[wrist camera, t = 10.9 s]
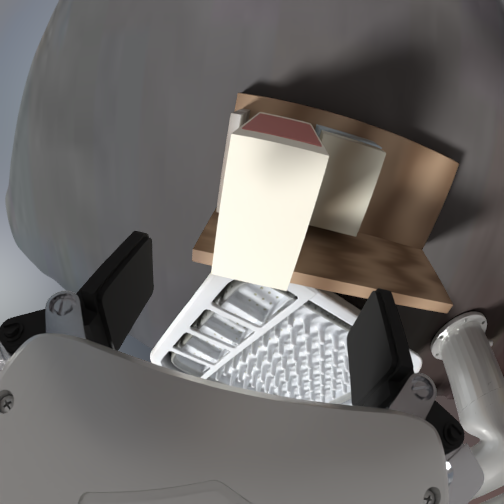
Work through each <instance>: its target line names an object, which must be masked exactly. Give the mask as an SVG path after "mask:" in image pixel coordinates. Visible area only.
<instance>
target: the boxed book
mask: <svg viewBox="0 0 504 504" xmlns="http://www.w3.org/2000/svg"><path fill="white" fill-rule="evenodd" d="M328 159H329V154H328V153H327V151H326V149H325V147H324V145H323V144H322V142H321V140H320V138H319V137H318V135H317V133H316V131H315V130H314V128H313V126H312V125H311V123H308V122H304V121H300V120H296V119H291V118H287V117H283V116H278V115H273V114H268V113H263V112H259V113H258V114H256V115H255V116H254V117H252V118H251V119H250V120H248V121H247V122H246V123H244V124H243V125H242V126H241V127H239V128H238V129H237V130H235V131H234V132H233V133H232V134H231V139H230V145H229V151H228V157H227V163H226V169H225V176H224V182H223V189H222V196H221V203H220V210H219V217H218V224H217V232H216V239H215V247H214V255H213V263H212V271H211V274H213V275H218V276H222V277H226V278H230V279H235V280H239V281H244V282H248V283H252V284H257V285H261V286H266V287H270V288H275V289H280V290H284V291H287V289H288V286H289V283H290V280H291V277H292V274H293V271H294V268H295V265H296V262H297V259H298V256H299V253H300V250H301V247H302V244H303V241H304V238H305V235H306V232H307V229H308V225H309V222H310V219H311V216H312V213H313V209H314V206H315V203H316V200H317V196H318V193H319V190H320V186H321V183H322V180H323V176H324V173H325V169H326V166H327V162H328Z"/></svg>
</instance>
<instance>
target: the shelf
mask: <svg viewBox="0 0 504 504" xmlns="http://www.w3.org/2000/svg"><path fill="white" fill-rule="evenodd" d="M259 112H263V113H268V114H273V115H278V116H283V117H287V118H291V119H296V120H300V121H304V122H308V123H311V125H312V126H313V128H314V130H315V131H316V133H317V135H318V137H319V138H320V140H321V142H322V144H323V145H324V147H325V149H326V151H327V153H328V154H329V159H328V162H327V166H326V169H325V173H324V176H323V180H322V183H321V186H320V190H319V193H318V196H317V200H316V203H315V206H314V209H313V213H312V216H311V219H310V222H309V225H308V229H307V232H306V235H305V238H304V241H303V244H302V247H301V250H300V253H299V256H298V259H297V262H296V265H295V268H294V271H293V274H292V277H291V280H290V283H293V284H298V285H302V286H307V287H312V288H317V289H322V290H326V291H331V292H336V293H341V294H346V295H351V296H356V297H361V298H366V299H368V298H369V296H370V294H371V292H372V291H376V290H377V289H378V288H380V289H385V290H389V291H391V293H392V295H393V298H394V301H395V304H398V305H403V306H409V307H414V308H419V309H425V310H431V311H436V312H442V313H448V311H449V310H450V309H451V307H452V306H453V303H452V301H451V300H450V298H449V296H448V294H447V292H446V290H445V288H444V286H443V285H442V283H441V281H440V279H439V278H438V276H437V274H436V272H435V271H434V269H433V267H432V265H431V264H430V262H429V260H428V259H427V257H426V256H425V254H424V252H423V251H422V249H423V247H424V245H425V243H426V241H427V239H428V237H429V235H430V233H431V231H432V229H433V226H434V224H435V222H436V220H437V218H438V216H439V213H440V211H441V209H442V206H443V204H444V202H445V199H446V197H447V194H448V192H449V189H450V187H451V184H452V182H453V179H454V177H455V174H456V171H457V168H458V166H459V163H457V162H456V161H454V160H452V159H451V158H449V157H447V156H445V155H443V154H440V153H438V152H436V151H434V150H432V149H430V148H428V147H425V146H423V145H421V144H419V143H416V142H414V141H412V140H409V139H407V138H404V137H402V136H399V135H397V134H394V133H392V132H389V131H386V130H384V129H381V128H378V127H375V126H373V125H370V124H367V123H364V122H361V121H358V120H355V119H352V118H349V117H345V116H342V115H339V114H335V113H332V112H328V111H325V110H321V109H317V108H313V107H309V106H305V105H301V104H297V103H293V102H288V101H284V100H279V99H274V98H269V97H264V96H258V95H252V94H246V93H238V95H237V101H236V106H235V112H233V113H231V117H230V123H229V129H228V135H227V141H226V148H225V154H224V161H223V168H222V174H221V181H220V189H219V196H218V203H217V207H216V209H215V211H214V213H213V214H212V216H211V218H210V220H209V221H208V223H207V225H206V227H205V228H204V230H203V232H202V234H201V235H200V237H199V239H198V241H197V243H196V244H195V246H194V248H193V255H192V261H194V262H198V263H203V264H207V265H211V266H212V263H213V255H214V247H215V239H216V232H217V224H218V217H219V210H220V203H221V196H222V189H223V182H224V176H225V169H226V163H227V157H228V151H229V145H230V139H231V134H232V133H233V132H234V131H235V130H237V129H238V128H239V127H241V126H242V125H243V124H244V123H246V122H247V121H248V120H250V119H251V118H252V117H254V116H255V115H256V114H258V113H259Z"/></svg>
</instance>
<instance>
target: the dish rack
mask: <svg viewBox="0 0 504 504" xmlns="http://www.w3.org/2000/svg"><path fill="white" fill-rule="evenodd" d="M360 312H361V310H359V309H358V308H356V307H355V306H353V305H352V304H350V303H349V302H347V301H346V300H344V299H343V298H341V297H340V296H338V295H337V294H335V293H333V292H331V291H326V290H322V289H317V288H312V287H307V286H302V285H298V284H293V283H289V286H288V289H287V291H284V290H280V289H275V288H270V287H266V286H261V285H257V284H252V283H248V282H244V281H239V280H235V279H230V278H226V277H222V276H218V275H213V274H211V273H210V274H209V276H208V277H207V278H206V280H205V281H204V282H203V284H202V285H201V286H200V288H199V289H198V290H197V291H196V293H195V294H194V296H193V297H192V298H191V300H190V301H189V302H188V303H187V305H186V306H185V307H184V308H183V310H182V311H181V312H180V313H179V315H178V316H177V317H176V319H175V320H174V321H173V323H172V324H171V325H170V327H169V328H168V329H167V331H166V332H165V333H164V335H163V336H162V337H161V339H160V340H159V342H158V343H157V344H156V346H155V347H154V349H153V350H152V351H151V354H150V358H151V362H152V363H153V364H156V365H159V366H162V367H165V368H169V369H172V370H175V371H178V372H182V373H185V374H188V375H192V376H196V377H199V378H203V379H206V380H210V381H214V382H218V383H222V384H226V385H230V386H235V387H239V388H243V389H248V390H253V391H258V392H263V393H268V394H273V395H279V396H284V397H290V398H296V399H303V400H310V401H317V402H325V403H334V404H343V405H352V402H351V386H350V372H349V361H348V350H347V335H348V332H349V331H350V329H351V327H352V326H353V324H354V322H355V321H356V319H357V317H358V315H359V314H360ZM409 351H410V354H411V358H412V362H413V366H414V368H413V369H414V373H418V372H419V370H420V368H421V366H422V359H421V357H420V356H419V355H418V354H417V353H415V352H414V351H412V350H411V349H409ZM352 406H353V405H352Z"/></svg>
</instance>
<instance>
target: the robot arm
mask: <svg viewBox="0 0 504 504" xmlns="http://www.w3.org/2000/svg"><path fill="white" fill-rule="evenodd" d="M153 289H154V284H153V262H152V239H151V238H149V236H148V234H147V233H143V232H138V231H134V232H133V233H132V234H131V235H130V236H129V237H128V238H127V239H126V240H125V241H124V242H123V243H122V244H121V245H120V246H119V247H118V248H117V249H116V250H115V251H114V252H113V254H112V255H111V256H110V257H109V258H108V259H107V260H106V261H105V262H104V263H103V264H102V265H101V266H100V267H99V268H98V269H97V271H96V272H95V273H94V274H93V275H92V276H91V277H90V278H89V280H88V281H87V282H86V283H85V284H84V285H83V287H82V288H81V289H80V290H79V291H78V292H77V294H75V293H73V292H71V291H61V292H57V293H55V294H54V295H52V296H51V297H50V298H49V299H48V301H47V303H46V307H45V309H43V310H39V311H35V312H32V313H28V314H24V315H20V316H16V317H13V318H10V319H7V320H6V321H5V322H4V323H3V324H2V325H1V327H0V504H468V503H469V502H470V501H471V500H472V499H475V498H477V497H479V496H482V495H485V494H487V493H489V492H491V491H493V490H495V489H497V488H499V487H501V486H503V485H504V377H503V375H502V372H501V370H500V367H499V365H498V362H497V360H496V358H495V355H494V353H493V351H492V349H491V346H492V345H493V341H492V340H488V339H487V337H486V335H485V331H486V328H487V320H486V318H485V316H484V315H483V314H482V313H480V312H476V311H474V312H467V313H464V314H461V315H459V316H457V317H455V318H454V319H452V320H451V321H449V322H448V323H447V324H445V325H444V326H443V327H442V328H441V329H440V330H439V331H438V332H437V334H436V335H435V337H434V338H433V340H432V343H431V351H432V354H433V356H434V357H435V358H437V359H441V360H443V362H444V366H445V369H446V372H447V375H448V378H449V382H450V385H451V388H452V392H453V395H454V399H455V403H456V406H457V410H458V414H459V419H460V423H461V424H460V423H459V422H458V421H457V420H456V419H455V418H454V417H453V416H452V415H450V414H449V413H448V412H447V411H446V410H445V409H444V408H443V407H442V406H441V405H440V404H438V403H437V402H436V401H435V398H436V395H437V391H436V387H435V384H434V382H433V381H432V380H431V379H430V378H429V377H428V376H427V375H425V374H422V373H414V369H413V368H414V366H413V362H412V358H411V354H410V351H409V347H408V343H407V340H406V336H405V333H404V330H403V326H402V323H401V320H400V317H399V313H398V310H397V307H396V304H395V301H394V298H393V295H392V293H391V291H389V290H385V289H380V288H378V289H377V290H376V291H372V292H371V294H370V296H369V298H368V300H367V301H366V303H365V305H364V307H363V308H362V310H361V312H360V314H359V315H358V317H357V319H356V321H355V322H354V324H353V326H352V327H351V329H350V331H349V332H348V335H347V350H348V361H349V372H350V386H351V402H352V405H353V406H352V405H343V404H334V403H325V402H317V401H310V400H303V399H296V398H290V397H284V396H279V395H273V394H268V393H263V392H258V391H253V390H248V389H243V388H239V387H235V386H230V385H226V384H222V383H218V382H214V381H210V380H206V379H203V378H199V377H196V376H192V375H188V374H185V373H182V372H178V371H175V370H172V369H169V368H165V367H162V366H159V365H156V364H153V363H150V362H147V361H145V360H142V359H139V358H136V357H133V356H130V355H127V354H125V353H122V352H119V351H118V350H119V348H120V347H121V345H122V343H123V341H124V340H125V338H126V336H127V335H128V333H129V331H130V330H131V328H132V326H133V325H134V323H135V321H136V320H137V318H138V316H139V315H140V313H141V311H142V310H143V308H144V306H145V305H146V303H147V302H148V300H149V298H150V297H151V295H152V293H153ZM461 425H462V426H461ZM462 427H463V428H462ZM463 429H464V430H465V431H466V432H468V433H470V434H472V435H474V436H477V437H478V438H480V442H479V443H478V444H476V445H474V446H473V447H471V448H469V446H468V444H467V443H466V444H465V445H464V444H463V440H464V430H463ZM480 504H504V493H502V494H500V495H498V496H496V497H494V498H492V499H489V500H487V501H485V502H483V503H480Z"/></svg>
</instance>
